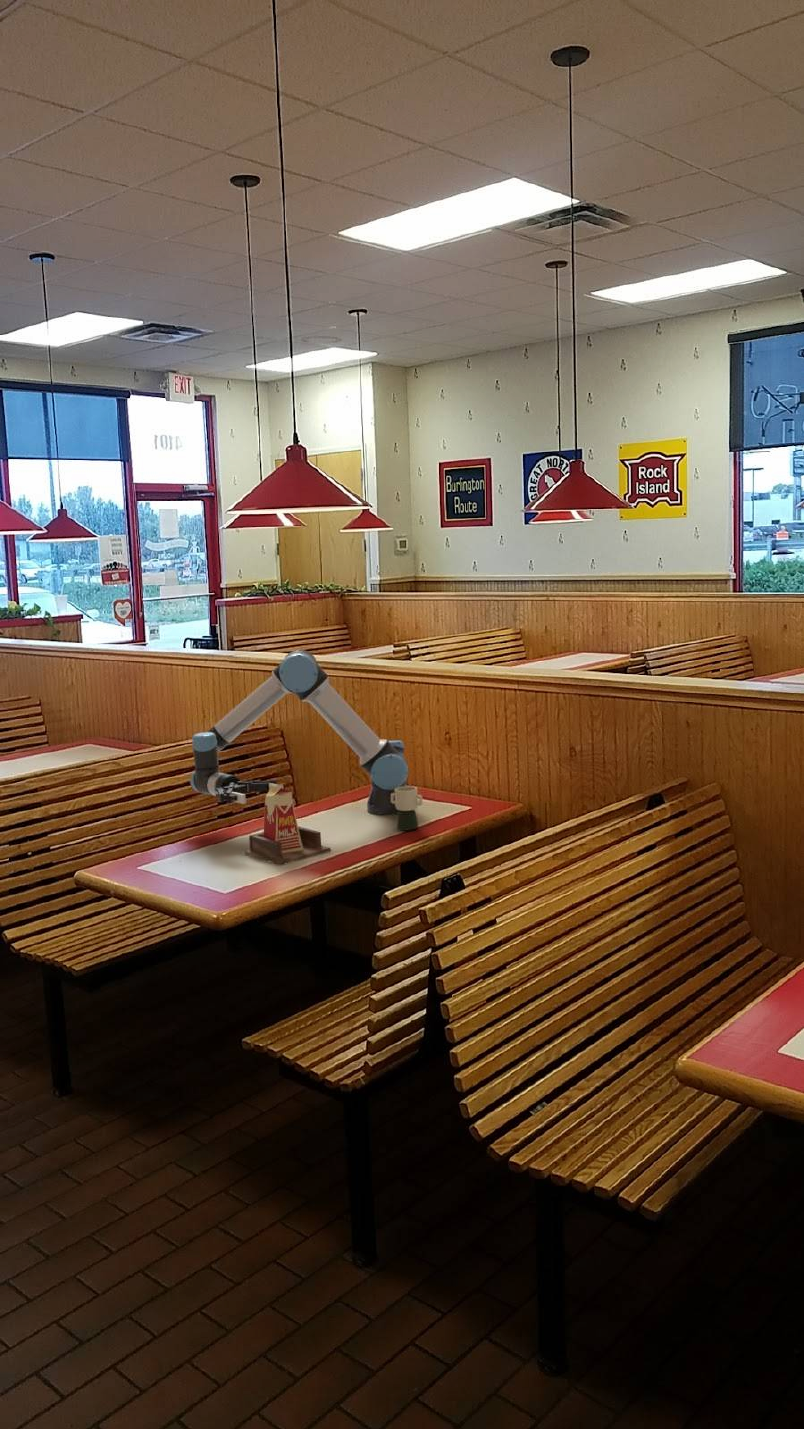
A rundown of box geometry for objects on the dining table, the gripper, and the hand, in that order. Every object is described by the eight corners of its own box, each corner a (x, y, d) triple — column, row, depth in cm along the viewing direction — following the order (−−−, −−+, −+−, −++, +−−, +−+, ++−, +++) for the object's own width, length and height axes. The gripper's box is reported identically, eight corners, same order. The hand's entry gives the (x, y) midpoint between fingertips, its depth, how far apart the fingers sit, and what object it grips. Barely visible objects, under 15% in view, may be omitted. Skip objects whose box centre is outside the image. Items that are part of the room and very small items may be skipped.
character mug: (428, 827, 342) (426, 786, 340) (418, 833, 336) (416, 792, 334) (397, 825, 347) (395, 784, 345) (387, 831, 341) (384, 790, 339)
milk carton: (303, 849, 321) (298, 782, 318) (274, 855, 317) (269, 787, 314) (290, 843, 329) (285, 777, 326) (261, 848, 325) (256, 782, 322)
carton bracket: (294, 840, 335) (293, 823, 335) (330, 851, 322) (329, 832, 321) (244, 854, 324) (243, 835, 323) (280, 865, 310) (278, 846, 309)
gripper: (259, 789, 352) (298, 798, 336) (191, 806, 336) (229, 815, 320) (257, 766, 351) (296, 774, 335) (188, 781, 335) (226, 790, 319)
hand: (263, 794), depth 328 cm, fingers open, 13 cm apart
